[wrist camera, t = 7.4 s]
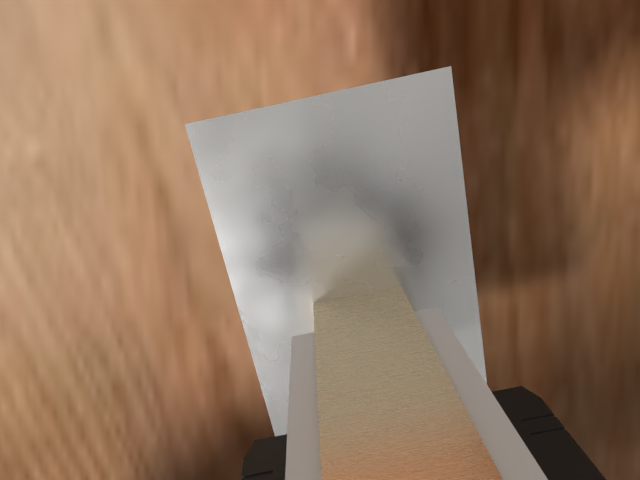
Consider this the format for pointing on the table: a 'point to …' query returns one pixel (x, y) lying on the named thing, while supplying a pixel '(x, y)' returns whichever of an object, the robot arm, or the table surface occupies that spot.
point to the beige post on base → (354, 267)
